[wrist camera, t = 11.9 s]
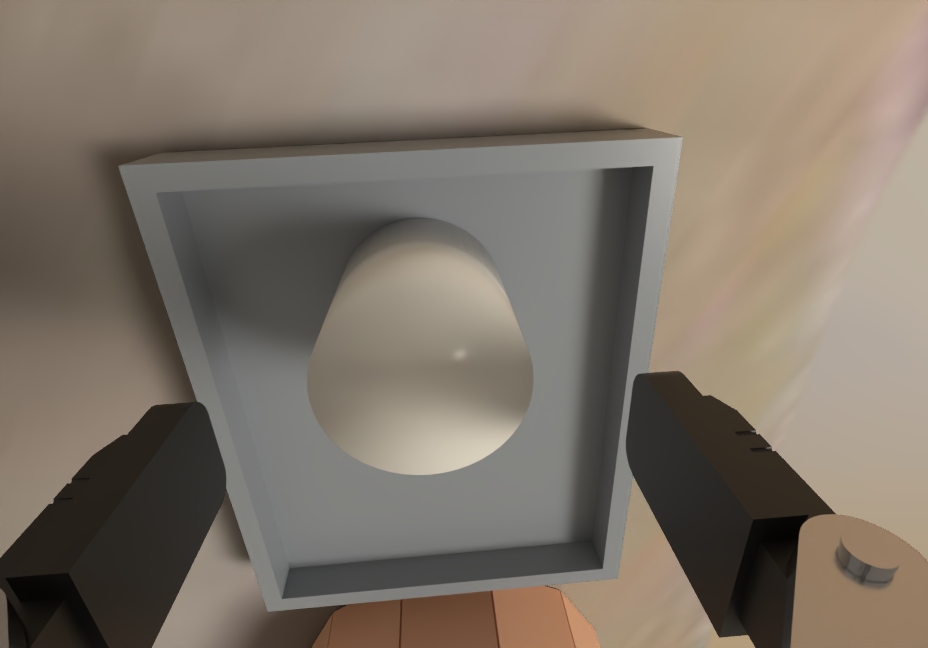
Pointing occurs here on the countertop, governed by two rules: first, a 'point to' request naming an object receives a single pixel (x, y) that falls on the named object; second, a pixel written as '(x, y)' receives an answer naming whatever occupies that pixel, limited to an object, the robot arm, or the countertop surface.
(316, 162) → the tray
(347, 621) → the bowl
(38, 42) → the countertop surface
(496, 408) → the cream rounded piece
